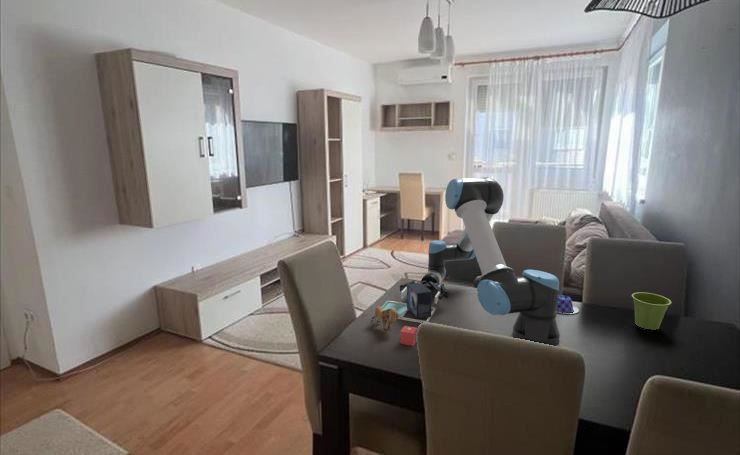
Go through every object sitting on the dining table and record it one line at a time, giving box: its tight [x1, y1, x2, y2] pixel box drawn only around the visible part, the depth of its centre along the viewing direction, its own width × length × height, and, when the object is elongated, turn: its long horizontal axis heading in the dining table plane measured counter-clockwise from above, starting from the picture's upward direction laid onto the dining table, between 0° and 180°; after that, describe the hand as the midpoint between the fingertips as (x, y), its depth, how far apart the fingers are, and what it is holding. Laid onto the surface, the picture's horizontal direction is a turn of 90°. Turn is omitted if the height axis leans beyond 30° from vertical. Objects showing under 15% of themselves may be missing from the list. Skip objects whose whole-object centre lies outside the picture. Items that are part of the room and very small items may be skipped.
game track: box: [381, 300, 436, 324], centre depth 162 cm, size 21×14×1 cm
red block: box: [400, 325, 418, 347], centre depth 138 cm, size 4×4×5 cm
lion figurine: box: [371, 305, 400, 333], centre depth 149 cm, size 15×5×9 cm, turn 35°
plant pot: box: [631, 291, 672, 330], centre depth 148 cm, size 12×12×11 cm
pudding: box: [557, 294, 580, 315], centre depth 165 cm, size 12×12×5 cm
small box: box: [406, 281, 433, 319], centre depth 159 cm, size 11×6×10 cm, turn 17°
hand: (418, 298), depth 160 cm, fingers open, 13 cm apart
